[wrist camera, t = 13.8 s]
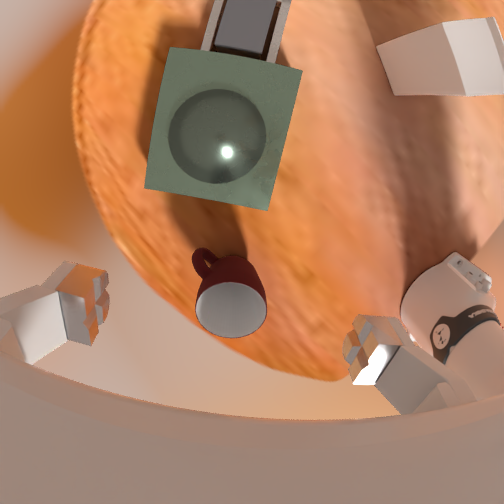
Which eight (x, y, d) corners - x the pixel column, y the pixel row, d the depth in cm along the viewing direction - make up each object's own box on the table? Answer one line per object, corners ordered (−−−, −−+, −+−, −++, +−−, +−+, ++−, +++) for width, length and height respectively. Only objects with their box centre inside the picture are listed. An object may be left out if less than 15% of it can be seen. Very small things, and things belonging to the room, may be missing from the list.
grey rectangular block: (272, 12, 27) (277, -1, 22) (259, 60, 30) (262, 52, 25) (231, 5, 26) (230, -10, 22) (218, 52, 29) (214, 43, 25)
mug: (178, 260, 41) (163, 301, 32) (214, 218, 38) (206, 252, 29) (236, 301, 44) (235, 348, 35) (273, 265, 42) (282, 308, 33)
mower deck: (311, 9, 26) (322, -7, 21) (264, 198, 37) (268, 213, 32) (199, -12, 25) (192, -31, 19) (156, 178, 36) (142, 190, 30)
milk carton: (393, 95, 31) (496, 99, 14) (374, 46, 28) (468, 14, 11) (432, 86, 30) (535, 92, 13) (415, 40, 27) (513, 19, 10)
